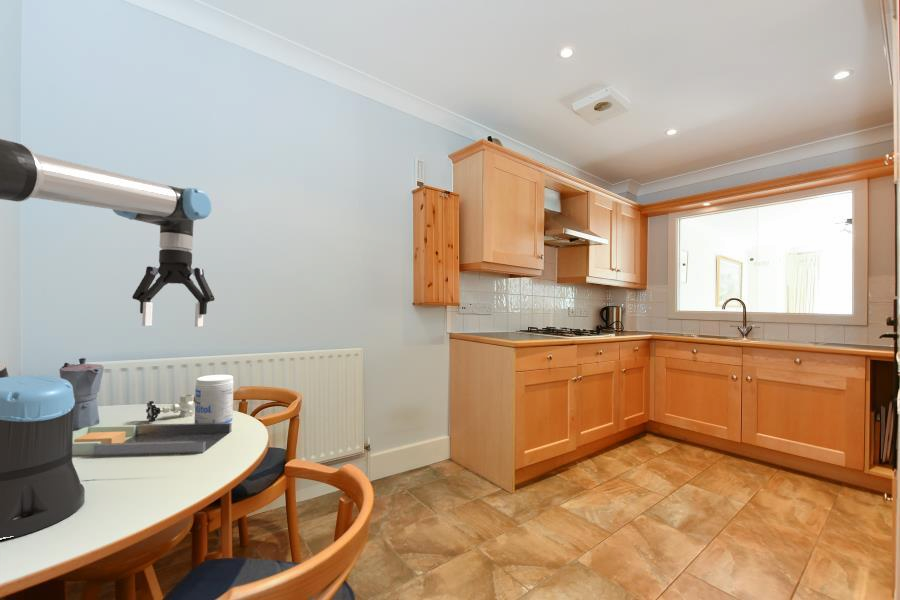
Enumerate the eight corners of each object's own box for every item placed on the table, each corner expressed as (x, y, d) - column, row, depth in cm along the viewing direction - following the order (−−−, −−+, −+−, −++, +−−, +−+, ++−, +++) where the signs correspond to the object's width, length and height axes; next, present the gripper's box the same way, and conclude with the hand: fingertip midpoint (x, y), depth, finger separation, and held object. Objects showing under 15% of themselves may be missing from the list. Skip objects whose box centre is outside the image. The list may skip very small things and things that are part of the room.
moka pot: (79, 434, 104) (80, 361, 105) (36, 429, 108) (38, 359, 108) (116, 423, 114) (117, 356, 114) (75, 419, 117) (77, 354, 117)
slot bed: (202, 454, 92) (202, 443, 92) (92, 458, 89) (92, 446, 89) (231, 432, 108) (232, 422, 108) (139, 434, 105) (139, 424, 105)
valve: (190, 412, 126) (145, 421, 117) (191, 392, 126) (146, 399, 117) (198, 416, 122) (152, 425, 113) (198, 396, 122) (152, 403, 113)
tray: (97, 455, 90) (97, 443, 90) (40, 457, 89) (41, 444, 89) (136, 436, 104) (136, 425, 104) (87, 437, 102) (87, 426, 102)
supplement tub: (186, 432, 107) (186, 380, 107) (209, 421, 117) (210, 373, 117) (219, 433, 107) (219, 381, 107) (239, 422, 116) (240, 374, 116)
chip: (92, 449, 94) (92, 438, 94) (74, 449, 93) (74, 439, 93) (107, 441, 99) (107, 431, 99) (90, 442, 98) (90, 432, 98)
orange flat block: (111, 448, 94) (111, 438, 94) (93, 449, 94) (93, 438, 94) (125, 441, 99) (125, 431, 99) (108, 441, 99) (108, 432, 99)
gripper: (229, 253, 111) (226, 326, 111) (138, 250, 109) (135, 324, 109) (216, 249, 104) (213, 327, 103) (118, 246, 102) (114, 325, 101)
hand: (173, 326), depth 106 cm, fingers open, 13 cm apart
